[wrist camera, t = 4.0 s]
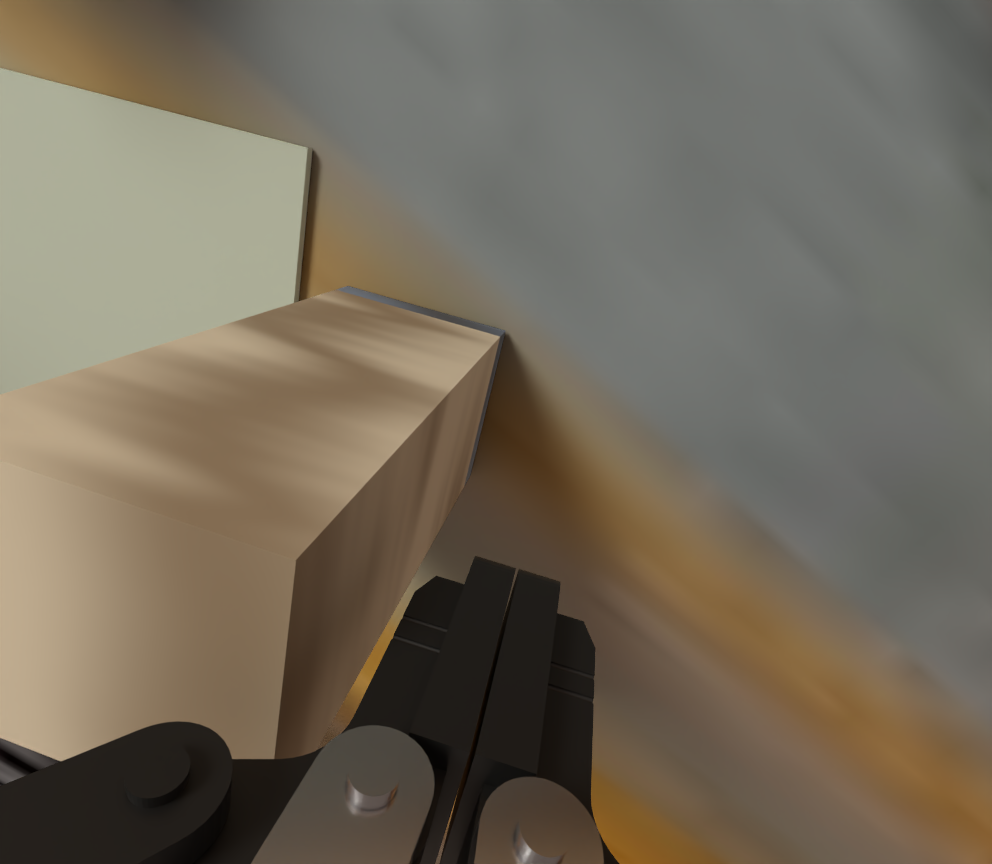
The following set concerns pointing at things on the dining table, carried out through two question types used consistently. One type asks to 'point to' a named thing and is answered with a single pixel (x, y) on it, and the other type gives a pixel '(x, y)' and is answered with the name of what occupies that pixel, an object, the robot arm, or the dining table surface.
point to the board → (134, 227)
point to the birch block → (228, 520)
